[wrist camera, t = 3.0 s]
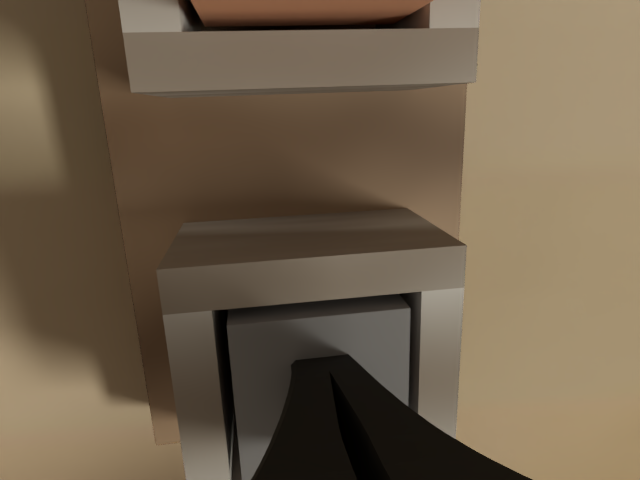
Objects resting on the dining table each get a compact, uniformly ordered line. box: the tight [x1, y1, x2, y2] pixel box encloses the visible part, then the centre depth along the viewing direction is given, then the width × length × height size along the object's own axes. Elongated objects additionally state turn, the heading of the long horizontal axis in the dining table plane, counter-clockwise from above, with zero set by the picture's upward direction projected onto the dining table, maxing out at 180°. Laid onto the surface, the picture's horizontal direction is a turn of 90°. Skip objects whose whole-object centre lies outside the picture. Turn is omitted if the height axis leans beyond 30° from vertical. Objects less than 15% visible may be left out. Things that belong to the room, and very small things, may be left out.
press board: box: [85, 0, 481, 480], centre depth 12 cm, size 18×10×6 cm, turn 2°
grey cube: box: [227, 294, 410, 480], centre depth 12 cm, size 4×4×4 cm
